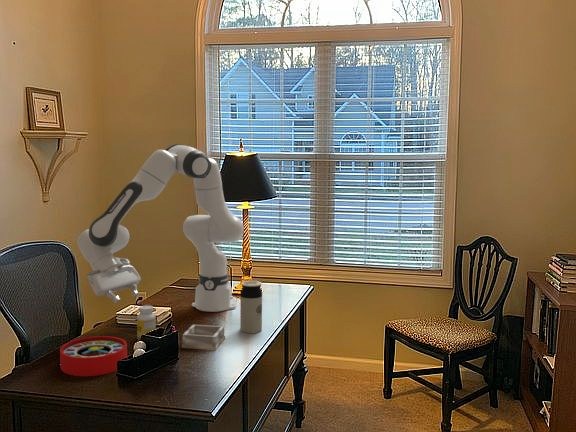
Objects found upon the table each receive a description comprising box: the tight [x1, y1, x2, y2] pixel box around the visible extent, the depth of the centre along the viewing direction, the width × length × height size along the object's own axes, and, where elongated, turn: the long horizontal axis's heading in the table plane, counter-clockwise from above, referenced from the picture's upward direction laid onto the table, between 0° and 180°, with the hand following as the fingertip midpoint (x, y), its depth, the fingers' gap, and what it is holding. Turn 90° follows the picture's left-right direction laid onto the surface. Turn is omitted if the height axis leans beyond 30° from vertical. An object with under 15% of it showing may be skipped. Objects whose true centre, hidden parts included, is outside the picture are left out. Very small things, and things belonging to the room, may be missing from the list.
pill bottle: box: [136, 305, 157, 341], centre depth 211 cm, size 6×6×12 cm
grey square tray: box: [181, 324, 226, 351], centre depth 208 cm, size 12×12×4 cm
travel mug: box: [239, 280, 263, 334], centre depth 222 cm, size 8×8×18 cm
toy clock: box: [59, 335, 128, 377], centre depth 188 cm, size 20×6×20 cm
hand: (127, 298), depth 214 cm, fingers open, 8 cm apart
